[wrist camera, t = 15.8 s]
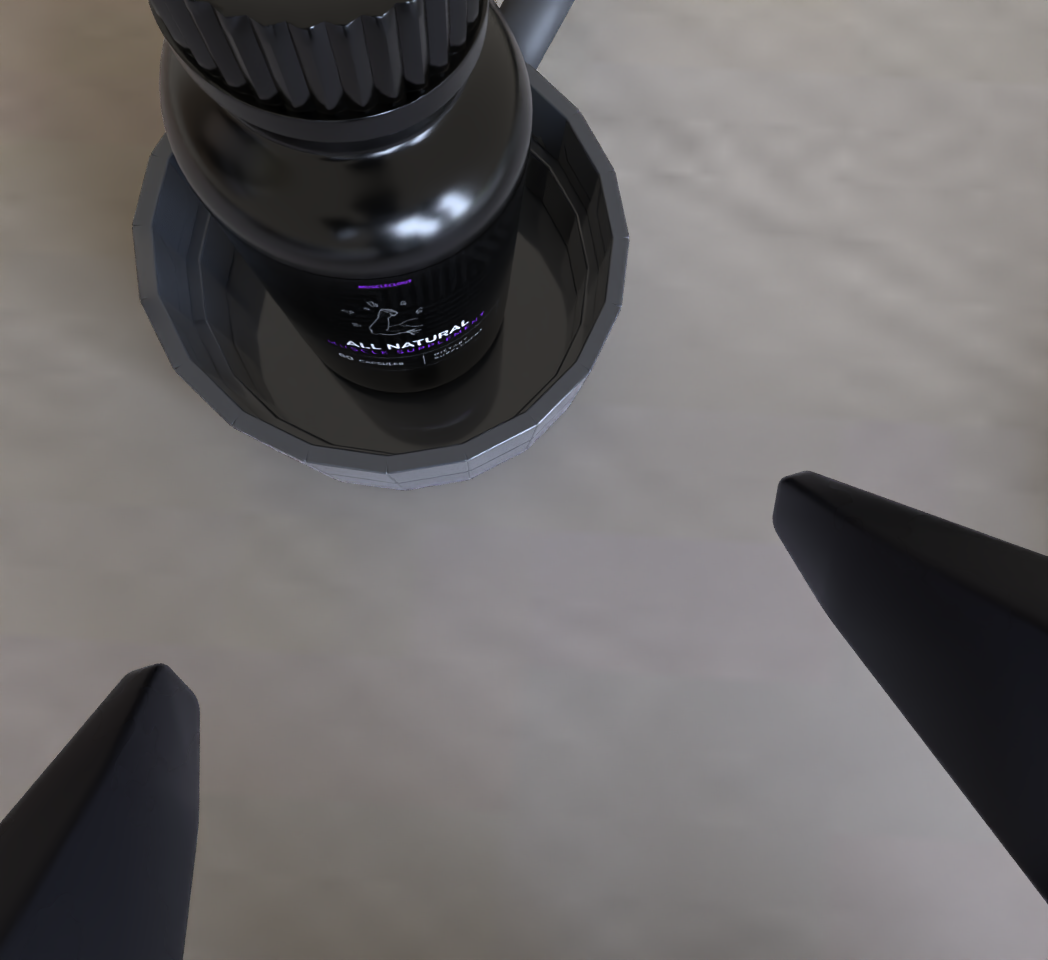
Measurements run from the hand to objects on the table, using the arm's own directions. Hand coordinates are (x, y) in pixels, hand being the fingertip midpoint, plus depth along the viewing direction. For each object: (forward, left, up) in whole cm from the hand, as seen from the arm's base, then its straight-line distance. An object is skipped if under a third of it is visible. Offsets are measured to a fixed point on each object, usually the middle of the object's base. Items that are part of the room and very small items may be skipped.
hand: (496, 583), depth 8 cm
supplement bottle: (+7, +6, -10) cm, 14 cm away
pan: (+7, +6, -10) cm, 14 cm away
